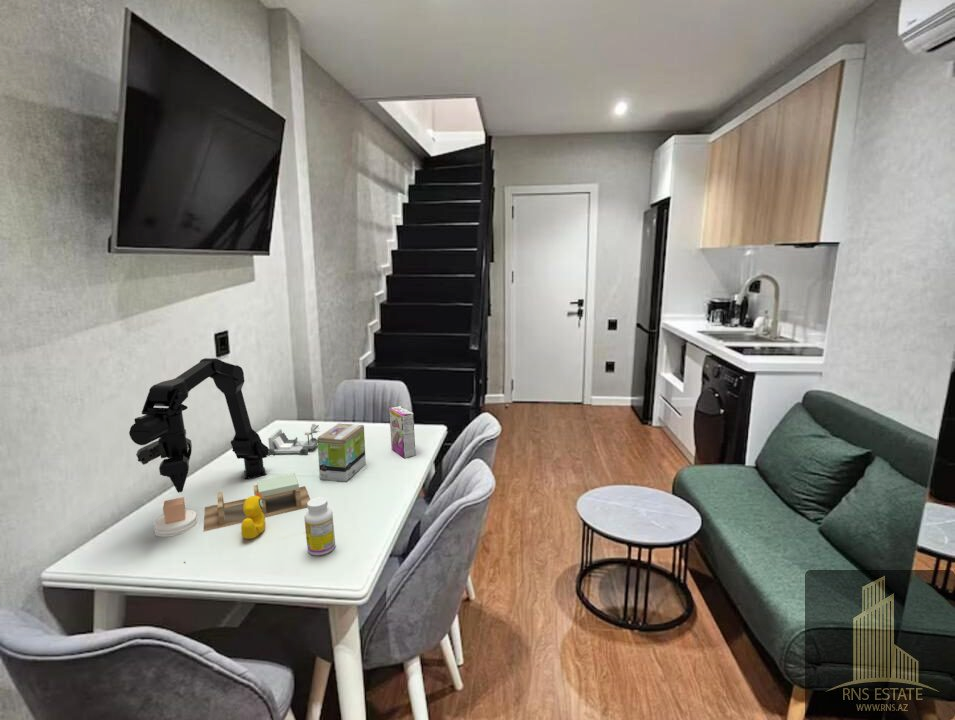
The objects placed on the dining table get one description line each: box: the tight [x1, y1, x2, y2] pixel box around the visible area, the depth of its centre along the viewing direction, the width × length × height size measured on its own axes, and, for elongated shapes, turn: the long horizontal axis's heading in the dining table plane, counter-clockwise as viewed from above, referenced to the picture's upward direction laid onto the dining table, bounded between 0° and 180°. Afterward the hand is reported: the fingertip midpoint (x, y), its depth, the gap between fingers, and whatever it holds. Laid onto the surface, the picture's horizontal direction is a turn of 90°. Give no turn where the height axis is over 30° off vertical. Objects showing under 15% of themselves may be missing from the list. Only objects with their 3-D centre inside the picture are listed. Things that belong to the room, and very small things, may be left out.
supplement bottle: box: [304, 496, 336, 556], centre depth 123 cm, size 7×7×13 cm
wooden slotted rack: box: [203, 484, 311, 533], centre depth 144 cm, size 15×28×6 cm, turn 117°
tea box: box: [316, 423, 367, 482], centre depth 168 cm, size 15×10×15 cm, turn 168°
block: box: [162, 496, 187, 524], centre depth 134 cm, size 4×4×4 cm
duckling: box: [240, 493, 266, 540], centre depth 131 cm, size 11×5×10 cm, turn 6°
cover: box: [256, 472, 300, 497], centre depth 146 cm, size 8×11×2 cm
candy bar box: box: [388, 405, 417, 459], centre depth 183 cm, size 11×5×16 cm, turn 34°
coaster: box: [153, 509, 198, 538], centre depth 135 cm, size 10×10×4 cm
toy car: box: [267, 423, 321, 457], centre depth 189 cm, size 18×10×12 cm
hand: (181, 484), depth 135 cm, fingers open, 9 cm apart
